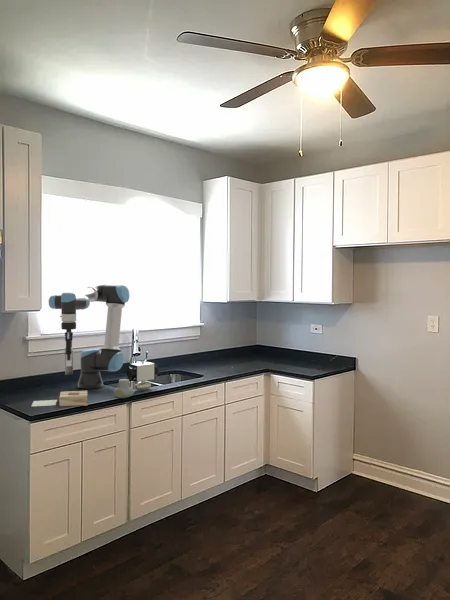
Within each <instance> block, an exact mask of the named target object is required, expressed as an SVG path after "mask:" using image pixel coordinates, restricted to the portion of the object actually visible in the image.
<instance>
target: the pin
mask: <svg viewBox="0 0 450 600" xmlns="http://www.w3.org/2000/svg"><path fill="white" fill-rule="evenodd" d="M65 353H66V347H65V348H64V375H66V376H67V375H70V376H71V375H73V374H74V349H73V346H72V347H71V358H72V366H66V354H65Z"/></svg>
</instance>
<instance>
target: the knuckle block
mask: <svg viewBox="0 0 450 600" xmlns="http://www.w3.org/2000/svg"><path fill="white" fill-rule="evenodd" d="M58 402H59V405H58V406H59V407H68V406H69V407H71V406H84V407H85V406H86V407H87V406H88V390H72V391H71V390H70V391H68V390H67V391H60V392H59V401H58Z"/></svg>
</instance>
